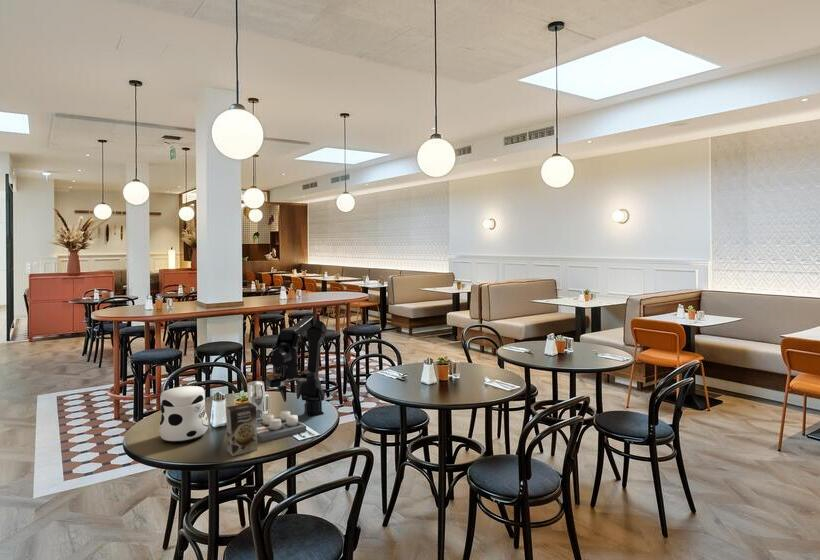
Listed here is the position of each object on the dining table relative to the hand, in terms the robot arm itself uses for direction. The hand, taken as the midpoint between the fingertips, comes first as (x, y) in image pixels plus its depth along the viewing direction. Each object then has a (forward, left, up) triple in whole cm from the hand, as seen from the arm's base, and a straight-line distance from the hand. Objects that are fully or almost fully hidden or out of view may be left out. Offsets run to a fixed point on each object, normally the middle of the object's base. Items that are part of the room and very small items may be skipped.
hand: (291, 400), depth 203 cm
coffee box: (+23, +8, -12) cm, 27 cm away
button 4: (0, 0, -10) cm, 10 cm away
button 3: (0, -7, -10) cm, 12 cm away
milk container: (+36, -19, -12) cm, 42 cm away
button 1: (+7, -7, -10) cm, 14 cm away
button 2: (+7, 0, -10) cm, 12 cm away
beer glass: (+6, -23, -12) cm, 27 cm away
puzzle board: (+6, -3, -12) cm, 14 cm away
